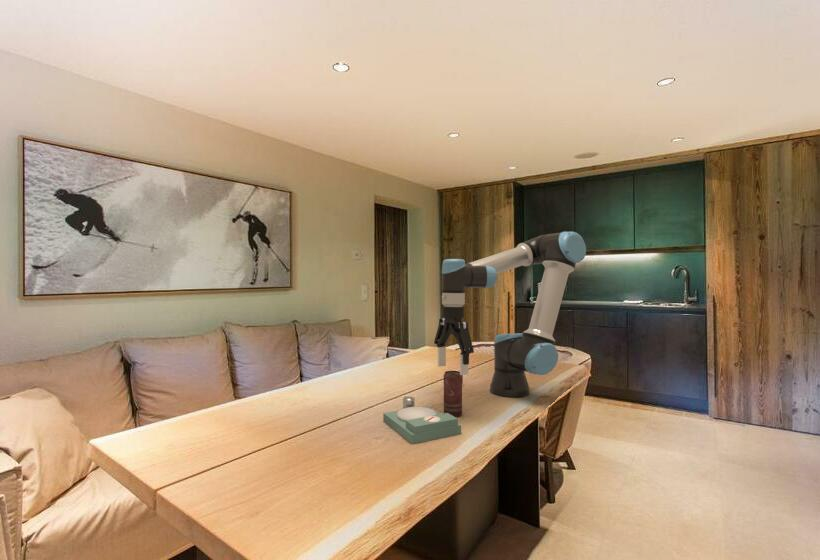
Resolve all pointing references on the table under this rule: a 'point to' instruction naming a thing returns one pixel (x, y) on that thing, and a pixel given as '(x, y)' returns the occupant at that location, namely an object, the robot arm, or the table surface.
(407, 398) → the spacer
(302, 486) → the table surface
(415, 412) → the scale
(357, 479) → the table surface
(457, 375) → the can
